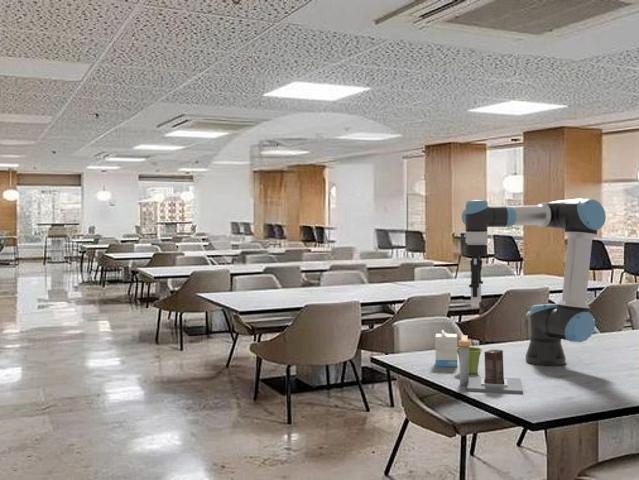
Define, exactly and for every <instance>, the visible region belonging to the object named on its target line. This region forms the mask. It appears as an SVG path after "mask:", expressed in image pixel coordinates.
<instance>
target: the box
mask: <svg viewBox="0 0 639 480" xmlns="http://www.w3.org/2000/svg"><path fill="white" fill-rule="evenodd" d="M483 354H484V377H485V383H487V384H504V378H505V377H504V375H505V374H504V350H502V349H489V350H487V351H484V353H483Z"/></svg>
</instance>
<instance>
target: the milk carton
mask: <svg viewBox="0 0 639 480" xmlns="http://www.w3.org/2000/svg"><path fill="white" fill-rule="evenodd" d="M434 336H435V339H434V340H435V342H434V343H435V367H442V368H443V367H445V368H446V367H447V368H448V367H450V368H455V367H456V368H457V367H458V353H457V350H456V348H458V333H447V332H446V331H445V330H444V329H442V330H441V333H436V334H435V335H434Z"/></svg>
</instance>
